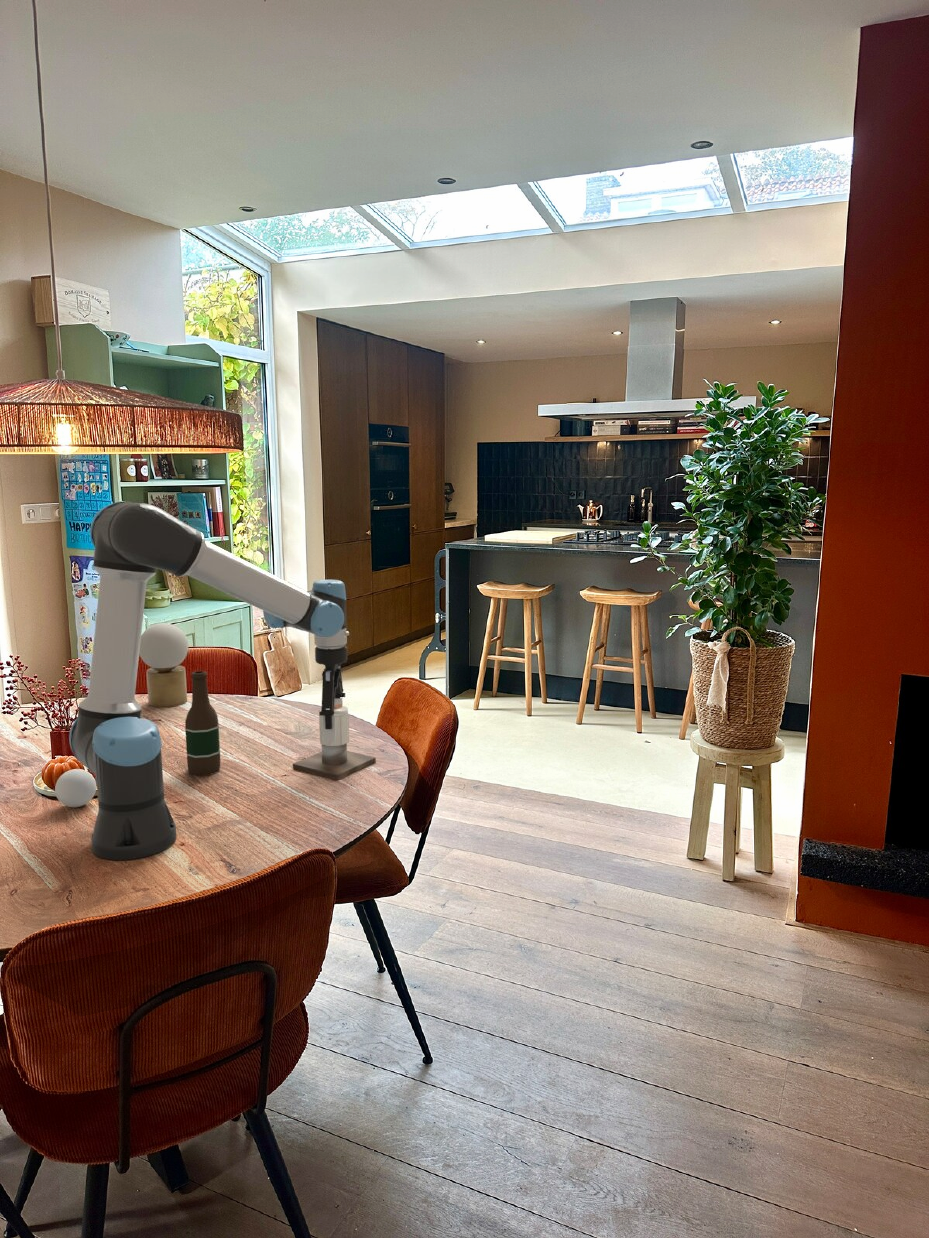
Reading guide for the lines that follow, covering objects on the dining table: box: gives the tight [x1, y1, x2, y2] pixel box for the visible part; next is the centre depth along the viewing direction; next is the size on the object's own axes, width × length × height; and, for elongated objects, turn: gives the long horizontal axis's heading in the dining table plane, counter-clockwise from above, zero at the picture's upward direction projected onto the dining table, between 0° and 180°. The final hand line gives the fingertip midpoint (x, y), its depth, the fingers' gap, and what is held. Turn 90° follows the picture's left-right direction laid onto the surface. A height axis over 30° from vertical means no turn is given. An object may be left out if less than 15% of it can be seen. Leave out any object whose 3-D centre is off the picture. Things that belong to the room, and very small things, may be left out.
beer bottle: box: [184, 670, 221, 776], centre depth 198 cm, size 8×8×24 cm
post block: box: [292, 743, 377, 781], centre depth 202 cm, size 14×14×11 cm
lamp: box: [139, 622, 189, 708], centre depth 254 cm, size 15×14×25 cm
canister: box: [318, 704, 350, 746], centre depth 201 cm, size 7×7×9 cm
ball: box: [54, 768, 97, 808], centre depth 178 cm, size 8×8×8 cm
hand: (333, 732), depth 202 cm, fingers open, 13 cm apart
